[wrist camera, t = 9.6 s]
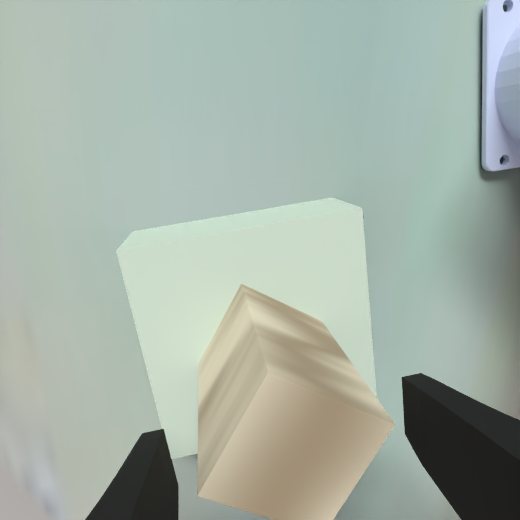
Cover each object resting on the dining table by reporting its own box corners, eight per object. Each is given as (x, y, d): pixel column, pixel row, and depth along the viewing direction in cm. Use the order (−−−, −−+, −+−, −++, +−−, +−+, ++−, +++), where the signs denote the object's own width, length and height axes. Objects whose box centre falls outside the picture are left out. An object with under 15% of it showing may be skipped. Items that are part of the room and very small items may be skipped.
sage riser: (332, 197, 20) (362, 208, 17) (348, 369, 23) (377, 413, 19) (132, 231, 20) (116, 250, 16) (175, 406, 22) (169, 459, 18)
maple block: (321, 320, 18) (395, 424, 11) (278, 395, 18) (323, 534, 12) (241, 283, 17) (268, 372, 10) (198, 363, 17) (197, 496, 11)
